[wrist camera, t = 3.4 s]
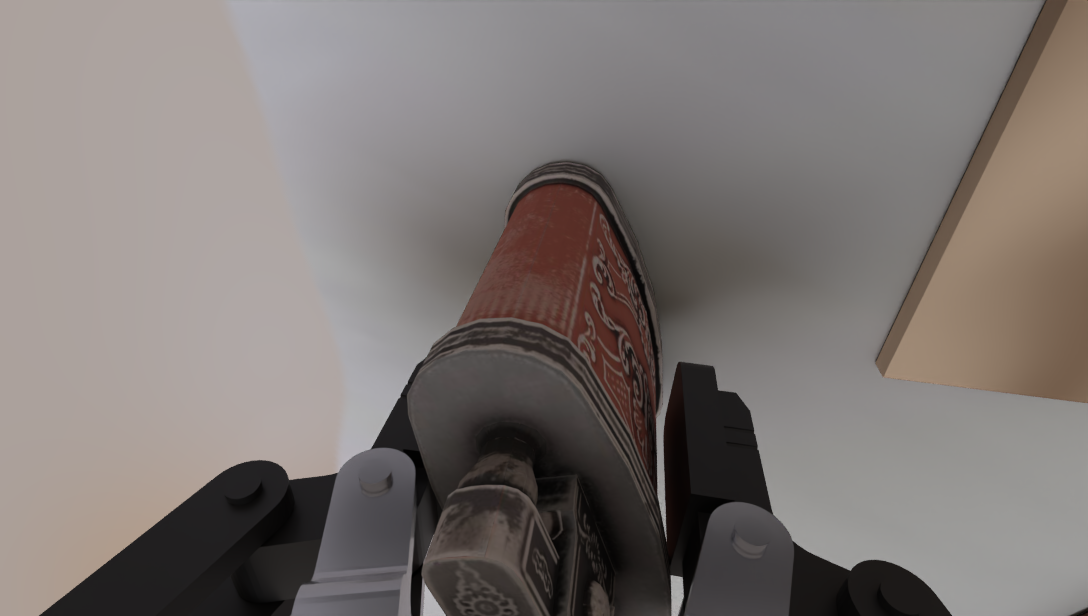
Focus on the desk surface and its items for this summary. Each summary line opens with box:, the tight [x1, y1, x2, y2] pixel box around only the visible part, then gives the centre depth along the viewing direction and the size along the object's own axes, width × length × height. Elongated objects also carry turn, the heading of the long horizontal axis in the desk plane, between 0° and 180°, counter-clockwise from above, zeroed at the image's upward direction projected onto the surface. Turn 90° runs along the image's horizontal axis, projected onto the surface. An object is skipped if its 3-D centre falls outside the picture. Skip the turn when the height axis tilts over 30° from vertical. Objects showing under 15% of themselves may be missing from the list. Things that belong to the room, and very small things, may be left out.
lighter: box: [407, 162, 671, 616], centre depth 11 cm, size 8×3×10 cm, turn 18°
